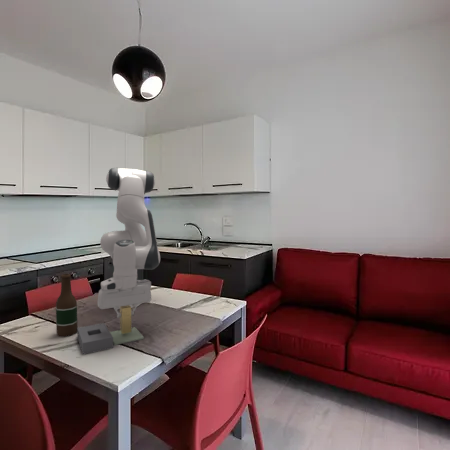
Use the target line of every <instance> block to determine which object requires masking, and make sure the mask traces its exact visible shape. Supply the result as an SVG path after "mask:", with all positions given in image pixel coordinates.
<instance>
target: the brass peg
mask: <svg viewBox="0 0 450 450" xmlns="http://www.w3.org/2000/svg"><path fill="white" fill-rule="evenodd" d="M131 310H132V308H131V306H130V305H127V306H121V307H120V309H119V312H121V314H122V315H121V316H122V317H120V318H119V330H120V331H121V333H122V334H124V333H129V332H131V328H132V316H131Z"/></svg>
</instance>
